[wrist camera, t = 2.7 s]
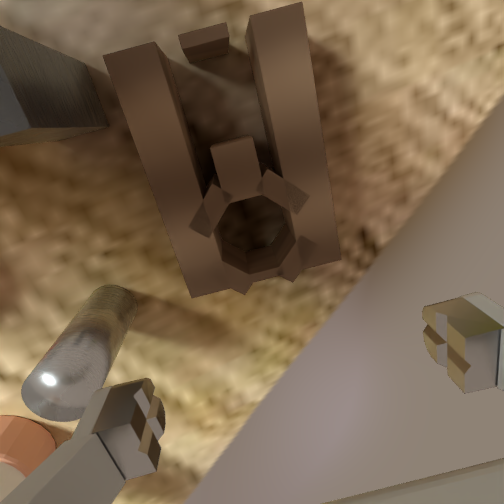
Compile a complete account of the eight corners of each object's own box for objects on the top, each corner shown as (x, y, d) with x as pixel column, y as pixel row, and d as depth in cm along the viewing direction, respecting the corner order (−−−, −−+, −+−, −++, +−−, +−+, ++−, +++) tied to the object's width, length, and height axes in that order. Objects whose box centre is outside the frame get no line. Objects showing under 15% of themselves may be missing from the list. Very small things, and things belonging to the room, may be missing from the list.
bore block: (125, 68, 19) (102, 55, 16) (287, 25, 19) (302, 1, 16) (199, 280, 25) (195, 308, 21) (325, 247, 25) (343, 269, 21)
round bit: (80, 292, 24) (7, 378, 16) (126, 280, 24) (76, 360, 16) (100, 330, 26) (42, 428, 17) (144, 319, 26) (106, 412, 17)
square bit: (26, 79, 19) (-125, 44, 11) (85, 63, 19) (-23, 16, 11) (54, 141, 21) (-61, 152, 12) (109, 126, 20) (31, 128, 12)
